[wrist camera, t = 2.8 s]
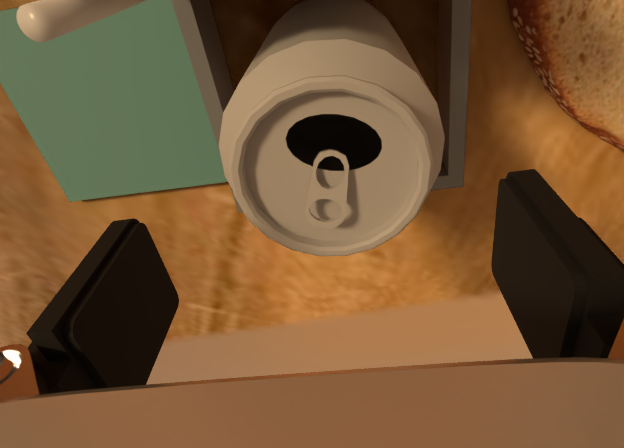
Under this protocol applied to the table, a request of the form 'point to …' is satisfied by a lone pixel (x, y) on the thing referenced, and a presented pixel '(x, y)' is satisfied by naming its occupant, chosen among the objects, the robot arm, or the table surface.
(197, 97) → the mat
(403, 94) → the can
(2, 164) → the table surface
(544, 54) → the slice of bread
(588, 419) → the robot arm
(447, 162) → the grey open box
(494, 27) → the table surface
